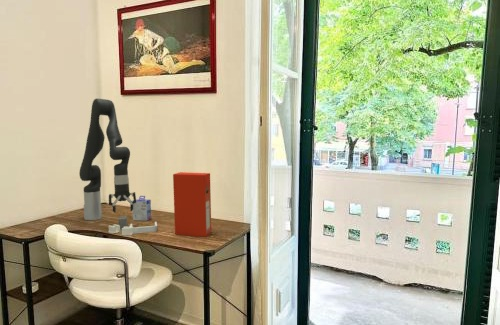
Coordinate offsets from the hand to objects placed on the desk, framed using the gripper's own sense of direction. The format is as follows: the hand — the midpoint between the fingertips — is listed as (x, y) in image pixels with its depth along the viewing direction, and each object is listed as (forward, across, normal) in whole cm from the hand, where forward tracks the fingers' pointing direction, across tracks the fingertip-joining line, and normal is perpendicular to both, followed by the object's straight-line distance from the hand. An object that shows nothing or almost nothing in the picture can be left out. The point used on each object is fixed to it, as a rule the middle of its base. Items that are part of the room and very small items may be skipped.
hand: (123, 211), depth 185 cm
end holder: (+10, -10, +8) cm, 16 cm away
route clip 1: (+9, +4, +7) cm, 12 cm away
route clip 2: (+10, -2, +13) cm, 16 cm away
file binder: (+10, -35, +23) cm, 43 cm away
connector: (+9, 0, -3) cm, 10 cm away
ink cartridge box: (+10, -10, -15) cm, 20 cm away
